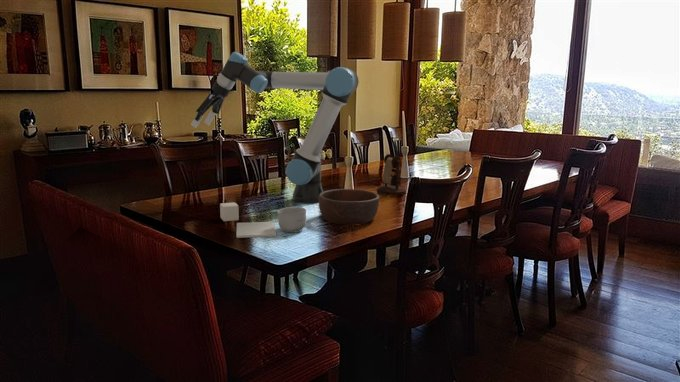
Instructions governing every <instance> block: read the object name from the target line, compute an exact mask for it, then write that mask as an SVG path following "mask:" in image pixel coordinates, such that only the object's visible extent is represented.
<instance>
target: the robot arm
mask: <svg viewBox="0 0 680 382" xmlns="http://www.w3.org/2000/svg"><path fill="white" fill-rule="evenodd" d="M248 62H249V59H248V58H247V57H246V56H244V55H243V54H242V53H239V52H237V51H233V52H232V53H231V54H230V56H229V57H228V59H227V61H226V62H225V64H224V66H223V68H222V69H221V71H220V73H218V76H217V79H216V81H214V83H213V85H212V86H211V89H212V91H213V93H208V95H207V97H206V98H205V99H204V101H203V102H202V103H201V104H200V105H199V107H198V108H197V109H196V110H195V112H197V113H196V114H195V117H193V120H192V121H191V123H190V125H191V126H192V127H193V128H195V129H197V128H198V126H199V125H200V123H201V121H202V119H203V118H204V115H205V113H206V112H207V111H209V109H210V108H211V107H212V108H211V110H210V111H209V113H208V115H207V116H206V118H205V120H204V121H203V124H205V125H207V126H210V125H211V123H212V122H213V120H214V118H215V117H216V116H217V115H219V114H220V112H221V109H222V106H223V104H224V102H225V101H224V100H225V99H226V98H227V97H228V96H229V95H230V93H231V90H232V89H233V87H234V86H235V84H236V83H237V81H239V82H241V83H242V84H244V85H245V86H247V88H249V89H250V90H251V91H253V92H255V93H256V94H261V93H262V92H263V91H264V90H265V89H285V90H286V89H287V90H289V89H290V90H318V91H319V90H321V95H322V97H323V98H322V100H321V102H320V105H319V106H318V109H317V111H316V113H315V116H314V118H313V120H312V122H311V123H310V124H311V125H310V127H309V129H308V132H307V133H306V136H305V137H304V140H303V142H302V144H301V147H298V148H297V149H295V152H294V154H293V156H292V158H291V160H290V161H289V162H288V163H287V165H286V168H285V175H286V177H287V180H288V181H290V182H291V183H292V184H294V185H295V187H294V190H293V193H292V201H293V202H296V203H300V204H301V203H302V204H317V203H318V204H319V199H318V195H319V194H320V193H321V192H323V191H324V190H323V186H322V154H321V152H322V150H323V148H324V145H325V143H326V141H327V139H328V137H329V135H330V132H331V130H332V128H333V125H334V124H335V122H336V120H337V117H338V115H339V113H340V110H341V109H342V107H343V106H346V105H347V104H348V103H349V100H350V98H351V96H352V95H353V93H354V92H356V90H357V89H358V87H359V82H360V81H359V76H358V74H357V73H356V72H355V71H354V70H353V69H351V68H349V67H344V66H337V67H334V68H333V69H330V70H328V71H325V72H318V71H317V72H314V71H313V72H312V71H311V72H309V71H266V70H265V71H263V70H262V71H261V70H260V71H259V70H255V69H254V68H252V67H250V66H249V64H248Z"/></svg>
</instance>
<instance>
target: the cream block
mask: <svg viewBox="0 0 680 382" xmlns="http://www.w3.org/2000/svg"><path fill="white" fill-rule="evenodd" d="M219 210H220V211H219V213H220V216H219V217H220V220H222V221H223V222H228V221H229V222H230V221H231V222H232V221H239V220H240V219H239V218H240V216H239V214H240V213H239V210H240V209H239V205H238V204H237V203H236V202H225V203H219Z"/></svg>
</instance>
